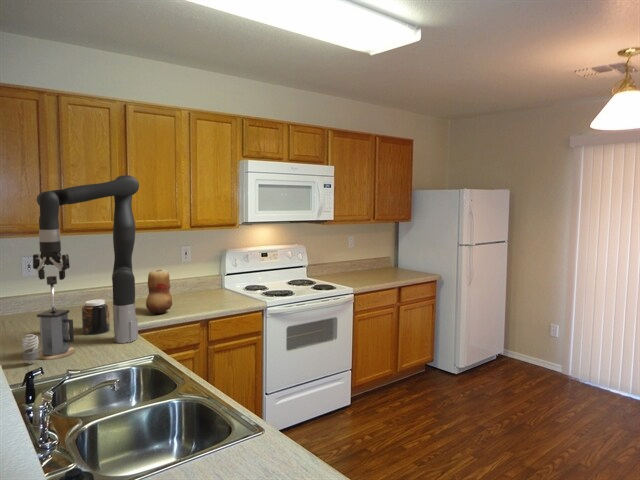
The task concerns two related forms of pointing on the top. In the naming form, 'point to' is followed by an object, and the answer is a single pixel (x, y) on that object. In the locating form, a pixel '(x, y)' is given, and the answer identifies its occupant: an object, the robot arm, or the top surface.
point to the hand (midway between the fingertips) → (52, 279)
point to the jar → (95, 317)
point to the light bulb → (30, 353)
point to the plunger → (52, 290)
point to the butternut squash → (158, 291)
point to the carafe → (55, 332)
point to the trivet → (42, 357)
